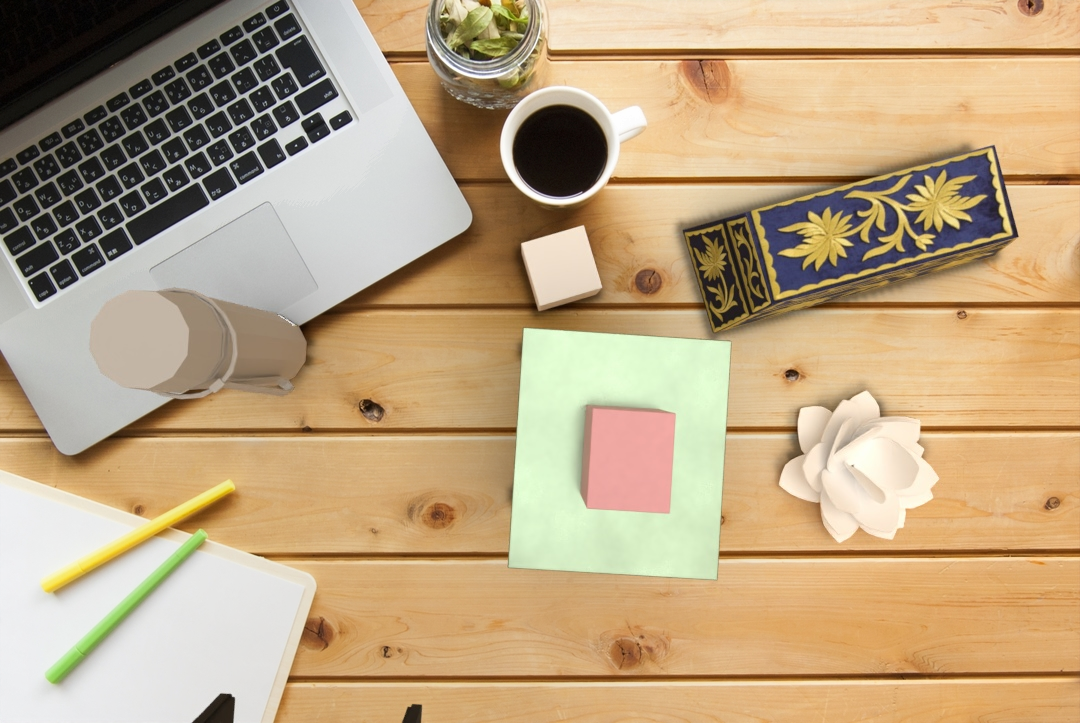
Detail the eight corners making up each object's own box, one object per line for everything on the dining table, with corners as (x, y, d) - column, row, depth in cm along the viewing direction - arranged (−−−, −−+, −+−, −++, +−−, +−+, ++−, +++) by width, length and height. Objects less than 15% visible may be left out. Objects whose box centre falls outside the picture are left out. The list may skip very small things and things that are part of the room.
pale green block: (654, 512, 73) (717, 580, 49) (513, 503, 72) (507, 568, 48) (664, 351, 73) (732, 340, 49) (524, 342, 73) (523, 327, 49)
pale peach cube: (538, 311, 73) (539, 306, 67) (521, 254, 73) (520, 243, 67) (596, 294, 73) (602, 287, 67) (579, 237, 73) (583, 224, 67)
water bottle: (218, 348, 72) (55, 335, 47) (278, 295, 72) (148, 254, 47) (280, 418, 72) (150, 442, 47) (340, 365, 72) (242, 361, 47)
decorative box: (682, 230, 73) (704, 210, 64) (968, 152, 74) (1029, 121, 65) (711, 334, 73) (737, 328, 64) (997, 255, 74) (1062, 239, 65)
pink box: (655, 499, 49) (669, 513, 44) (580, 494, 49) (586, 508, 44) (660, 409, 49) (676, 413, 44) (586, 404, 49) (592, 408, 44)
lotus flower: (767, 398, 73) (811, 397, 64) (905, 387, 75) (966, 384, 66) (780, 543, 72) (827, 562, 63) (920, 528, 74) (983, 544, 65)
